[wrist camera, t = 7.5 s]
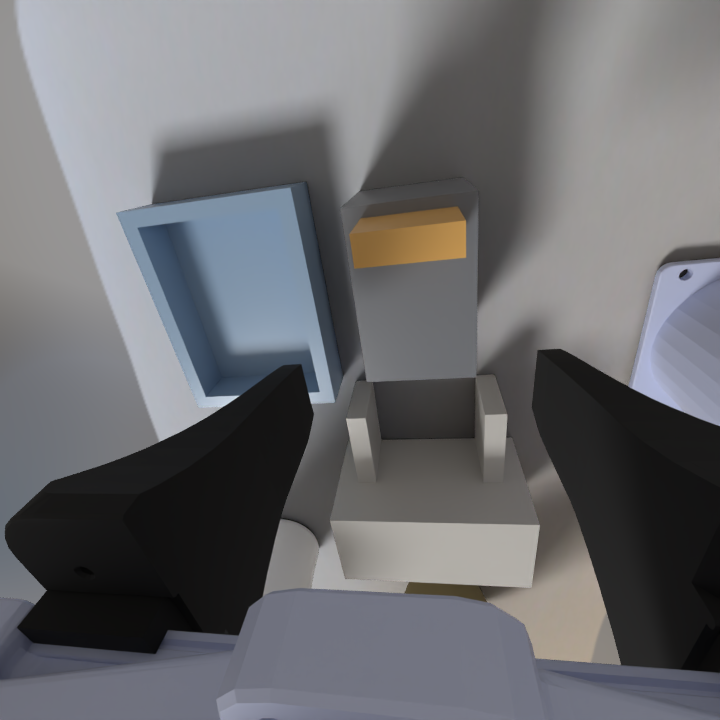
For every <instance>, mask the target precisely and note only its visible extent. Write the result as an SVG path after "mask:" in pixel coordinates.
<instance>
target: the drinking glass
mask: <svg viewBox="0 0 720 720" xmlns="http://www.w3.org/2000/svg"><path fill="white" fill-rule="evenodd" d="M318 553H319V545H318V541H317V539H316V537H315V536H314V534H313V533H312V532H311V531H310V530H309V529H308V528H306V527H305V526H303V525H301V524H299V523H297V522H294V521H291V520H285V519H280V523H279V527H278V531H277V534H276V538H275V542H274V547H273V551H272V556H271V560H270V564H269V569H268V573H267V578H266V583H265V588H264V593H263V596H264V595H266V594H268V593H270V592H272V591H279V590H288V589H296V588H308V589H311V587H312V581H313V575H314V570H315V566H316V562H317V558H318Z"/></svg>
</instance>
